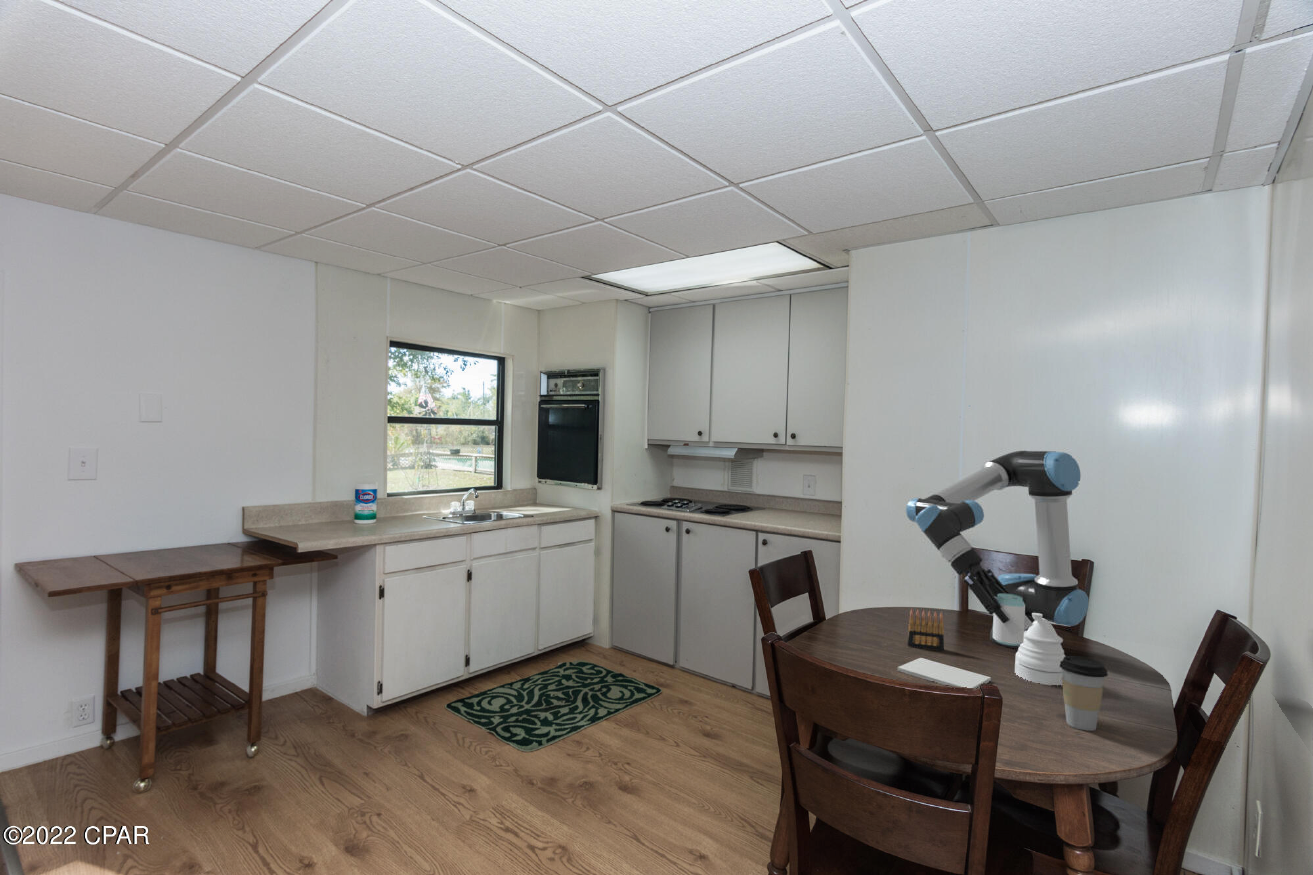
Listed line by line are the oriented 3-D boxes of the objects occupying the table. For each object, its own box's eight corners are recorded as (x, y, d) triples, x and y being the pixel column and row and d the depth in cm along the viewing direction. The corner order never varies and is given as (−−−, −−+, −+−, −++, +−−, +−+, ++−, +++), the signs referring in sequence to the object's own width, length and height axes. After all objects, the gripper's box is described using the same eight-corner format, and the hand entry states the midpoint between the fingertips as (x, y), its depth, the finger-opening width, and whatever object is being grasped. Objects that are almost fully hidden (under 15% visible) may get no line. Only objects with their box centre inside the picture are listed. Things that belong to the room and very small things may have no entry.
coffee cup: (1048, 716, 154) (1050, 654, 154) (1085, 716, 155) (1087, 654, 155) (1077, 734, 145) (1079, 668, 145) (1116, 734, 146) (1118, 668, 146)
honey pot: (1041, 687, 174) (1043, 620, 174) (1004, 670, 186) (1006, 608, 187) (1078, 684, 177) (1080, 619, 178) (1039, 667, 190) (1041, 607, 190)
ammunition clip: (943, 649, 205) (944, 611, 205) (944, 650, 203) (945, 612, 203) (907, 644, 208) (908, 607, 208) (907, 646, 206) (909, 609, 206)
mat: (897, 670, 183) (897, 667, 183) (920, 660, 192) (920, 657, 192) (969, 692, 168) (969, 689, 168) (990, 681, 177) (990, 677, 177)
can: (1023, 641, 167) (1025, 595, 167) (1023, 648, 161) (1025, 600, 161) (993, 636, 171) (995, 591, 171) (991, 642, 165) (993, 596, 165)
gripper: (966, 560, 184) (1025, 631, 172) (934, 567, 171) (996, 645, 159) (986, 544, 180) (1048, 616, 168) (955, 551, 167) (1020, 629, 155)
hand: (1023, 630), depth 163 cm, fingers closed on can, 7 cm apart
